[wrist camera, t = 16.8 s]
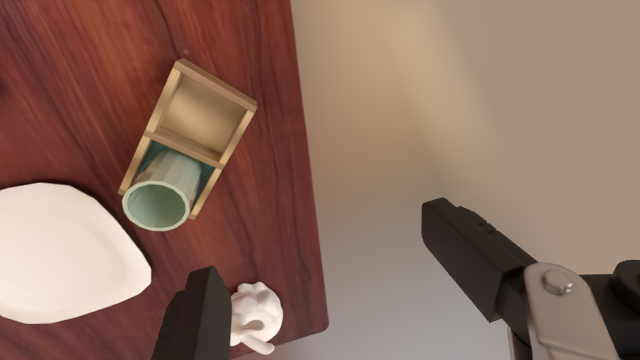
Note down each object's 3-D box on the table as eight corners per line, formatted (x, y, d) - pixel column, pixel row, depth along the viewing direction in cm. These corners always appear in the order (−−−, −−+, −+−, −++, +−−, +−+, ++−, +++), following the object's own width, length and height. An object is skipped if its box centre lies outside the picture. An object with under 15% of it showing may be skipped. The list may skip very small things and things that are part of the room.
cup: (161, 139, 33) (135, 171, 25) (210, 160, 36) (199, 195, 28) (143, 177, 35) (113, 219, 27) (190, 195, 37) (175, 238, 30)
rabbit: (214, 295, 48) (205, 368, 37) (250, 262, 46) (250, 328, 36) (267, 318, 53) (271, 385, 43) (300, 289, 52) (312, 352, 41)
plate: (-114, 219, 31) (-132, 228, 29) (81, 163, 33) (73, 169, 31) (30, 325, 42) (22, 336, 40) (170, 279, 44) (167, 287, 42)
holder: (182, 57, 30) (175, 60, 27) (256, 101, 34) (257, 107, 31) (128, 180, 35) (117, 193, 32) (198, 206, 39) (194, 220, 36)
